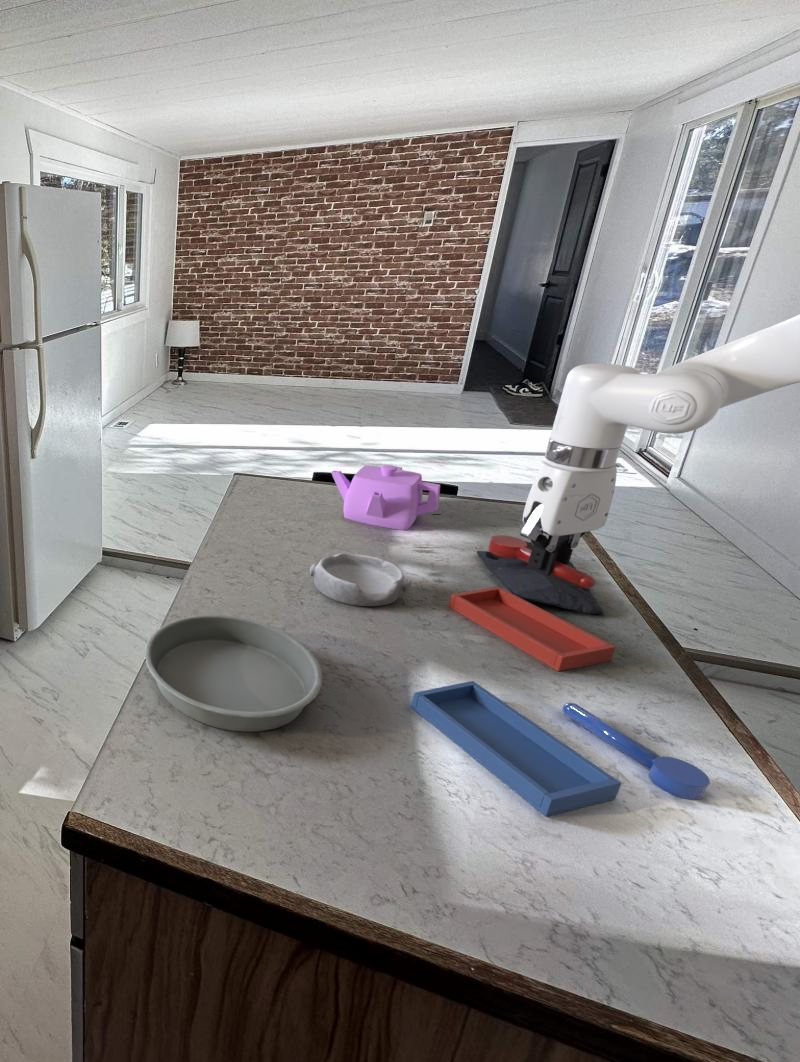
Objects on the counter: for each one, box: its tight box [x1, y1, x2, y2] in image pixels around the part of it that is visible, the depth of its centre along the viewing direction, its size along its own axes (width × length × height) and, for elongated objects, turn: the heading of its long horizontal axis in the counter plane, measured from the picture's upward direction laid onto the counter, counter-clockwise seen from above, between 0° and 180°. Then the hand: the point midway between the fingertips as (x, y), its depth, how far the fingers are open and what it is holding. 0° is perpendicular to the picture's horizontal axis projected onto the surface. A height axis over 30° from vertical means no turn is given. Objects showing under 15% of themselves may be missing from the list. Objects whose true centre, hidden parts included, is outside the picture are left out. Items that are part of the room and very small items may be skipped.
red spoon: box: [487, 534, 596, 589], centre depth 97 cm, size 15×5×2 cm, turn 12°
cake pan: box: [144, 614, 323, 733], centre depth 95 cm, size 25×25×4 cm
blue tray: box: [410, 680, 622, 817], centre depth 80 cm, size 19×10×2 cm, turn 12°
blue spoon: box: [561, 702, 711, 801], centre depth 79 cm, size 15×5×2 cm, turn 12°
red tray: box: [448, 586, 616, 672], centre depth 103 cm, size 19×10×2 cm, turn 12°
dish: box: [309, 552, 412, 607], centre depth 117 cm, size 14×14×5 cm
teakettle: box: [330, 464, 441, 531], centre depth 145 cm, size 17×17×12 cm
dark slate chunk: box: [476, 536, 605, 615], centre depth 116 cm, size 15×22×5 cm
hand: (546, 569), depth 96 cm, fingers closed on red spoon, 2 cm apart
